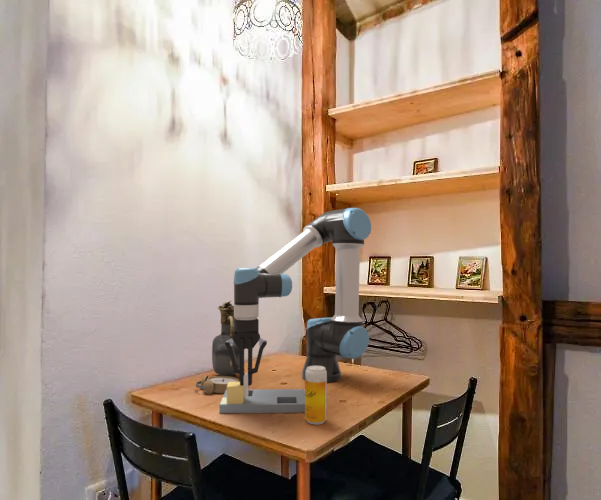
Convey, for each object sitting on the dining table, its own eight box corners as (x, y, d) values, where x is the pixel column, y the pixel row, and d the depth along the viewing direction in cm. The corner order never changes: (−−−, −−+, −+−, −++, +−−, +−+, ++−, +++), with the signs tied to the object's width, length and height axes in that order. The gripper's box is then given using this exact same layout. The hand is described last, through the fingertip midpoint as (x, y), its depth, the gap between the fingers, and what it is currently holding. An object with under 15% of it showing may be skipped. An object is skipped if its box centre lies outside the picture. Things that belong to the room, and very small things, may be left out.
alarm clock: (243, 383, 146) (200, 380, 141) (240, 398, 146) (197, 395, 140) (235, 375, 156) (194, 372, 151) (233, 389, 156) (192, 386, 150)
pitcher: (237, 372, 172) (238, 298, 173) (246, 385, 154) (247, 302, 155) (210, 374, 168) (211, 298, 169) (216, 387, 150) (217, 303, 151)
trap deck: (304, 396, 141) (304, 389, 142) (307, 412, 126) (307, 404, 127) (225, 396, 140) (226, 389, 140) (219, 413, 125) (219, 405, 125)
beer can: (304, 417, 122) (304, 365, 123) (324, 417, 123) (325, 365, 123) (306, 425, 116) (306, 370, 117) (327, 425, 117) (328, 370, 117)
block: (244, 397, 132) (244, 381, 132) (243, 403, 127) (243, 386, 127) (228, 398, 132) (228, 381, 132) (226, 403, 127) (226, 386, 127)
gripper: (267, 316, 134) (267, 392, 133) (226, 316, 133) (226, 392, 132) (266, 319, 126) (266, 399, 126) (223, 320, 126) (223, 400, 125)
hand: (246, 395), depth 129 cm, fingers closed
